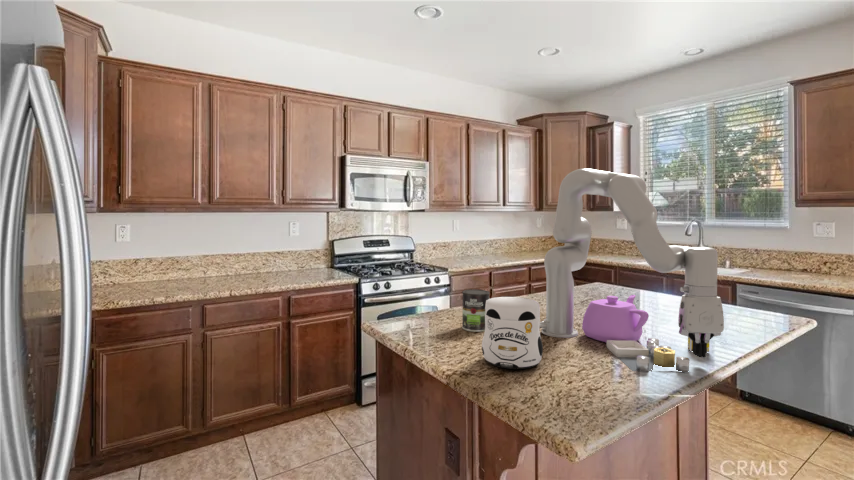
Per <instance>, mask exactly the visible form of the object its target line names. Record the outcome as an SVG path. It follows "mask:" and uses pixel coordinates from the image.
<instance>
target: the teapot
mask: <svg viewBox="0 0 854 480" xmlns="http://www.w3.org/2000/svg"><path fill="white" fill-rule="evenodd" d="M635 298H636V294H632V295H629V296H628V297H627V299H626V301H622V300H619V297H618V296H615V295H607V296H606V298H601V299H596V300H591V301H590V302H589V304H588V306H587V308H586V310H585V313H584V315H583V319H582V325H581V328H582V331H583V333H584V334H585V336H586V337H588V338H591V339H593V340H597V341H598V342H599V341H600V342H603V343H607V340H631V341H637V342H638V341H639V339H640V338H641V336H642V335H643V326H644V325H645V324H646V323H647V321H648V320H649V313H648V312H647V311H646V310H644V309H637V307H636V305H635V304H634V300H635Z"/></svg>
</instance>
